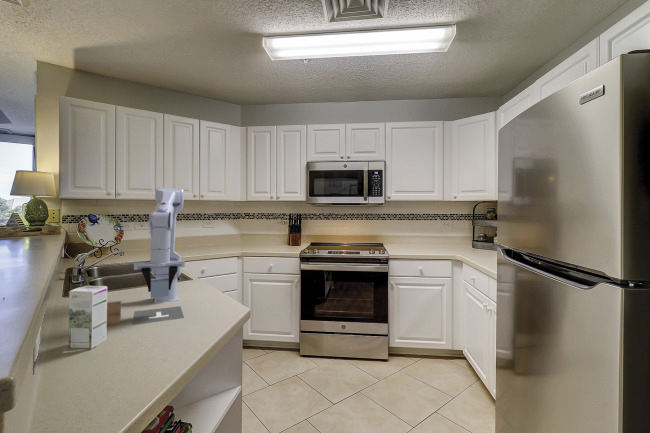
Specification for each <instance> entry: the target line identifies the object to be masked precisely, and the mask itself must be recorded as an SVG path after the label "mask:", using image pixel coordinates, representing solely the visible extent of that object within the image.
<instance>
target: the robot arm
mask: <svg viewBox="0 0 650 433" xmlns="http://www.w3.org/2000/svg"><path fill="white" fill-rule="evenodd" d="M154 193H155V194H154V197H155V198H154V200H155V202H156V205H155V207H154V210H153V212H152V213H150V214H149V216H148V227H149V235H150V248H149V250H150V252H149V257H150V258H149V259H150V260H149V261H143V262H142V261H141V262H134V263H133V270H134V271H137V270H141V273H142V275H143V277H144V279H145V283H146V287H147V291H148V292H150V293H151V276H152V277H155V278H154V279H159V278H168V280H169V292H168V296H164V297H155V298H154V303H155V304H159V303H161V304H162V303H169V302H178V301H179V297H178V277H179V276H181V274H182V268H185V260H182V256H181V255H180V254H179V253H177V252H176V251H175V246H176V245H175V243H176V224H177V217H178V213H179V212H182V211H183V208H184V200H185V190H184V189H183V188H173V187H171V188H170V187H160V186H159V187H158V186H157V187H156V188H155V192H154Z"/></svg>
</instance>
